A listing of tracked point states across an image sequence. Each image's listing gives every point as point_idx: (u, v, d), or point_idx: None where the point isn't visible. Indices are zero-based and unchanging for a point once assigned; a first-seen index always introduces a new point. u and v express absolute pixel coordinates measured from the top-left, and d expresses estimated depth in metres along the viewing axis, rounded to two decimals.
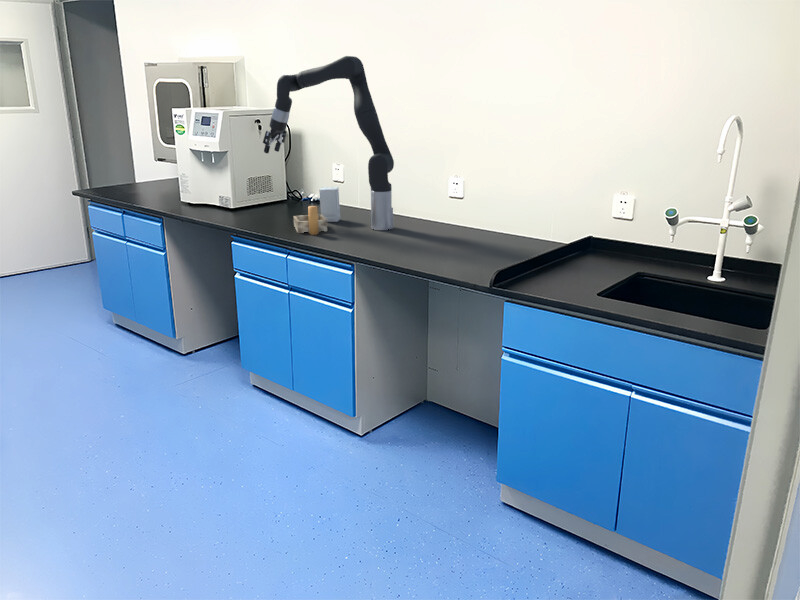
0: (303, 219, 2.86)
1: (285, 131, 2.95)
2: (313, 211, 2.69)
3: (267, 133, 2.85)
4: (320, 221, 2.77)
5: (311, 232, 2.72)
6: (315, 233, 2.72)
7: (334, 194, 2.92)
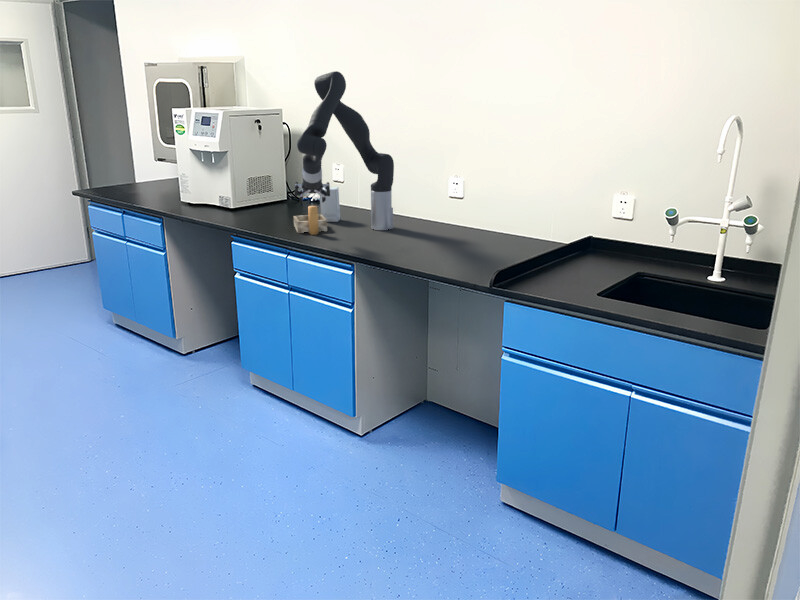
0: (303, 219, 2.86)
1: (297, 182, 2.51)
2: (313, 211, 2.69)
3: None
4: (320, 221, 2.77)
5: (311, 232, 2.72)
6: (315, 233, 2.72)
7: (334, 194, 2.92)
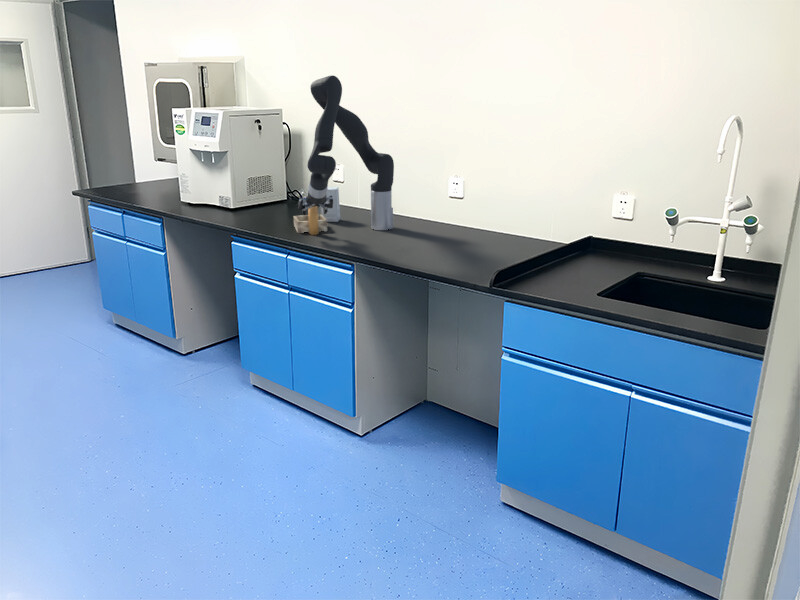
0: (303, 219, 2.86)
1: None
2: (313, 211, 2.69)
3: (332, 199, 2.61)
4: (320, 221, 2.77)
5: (311, 232, 2.72)
6: (315, 233, 2.72)
7: (334, 194, 2.92)
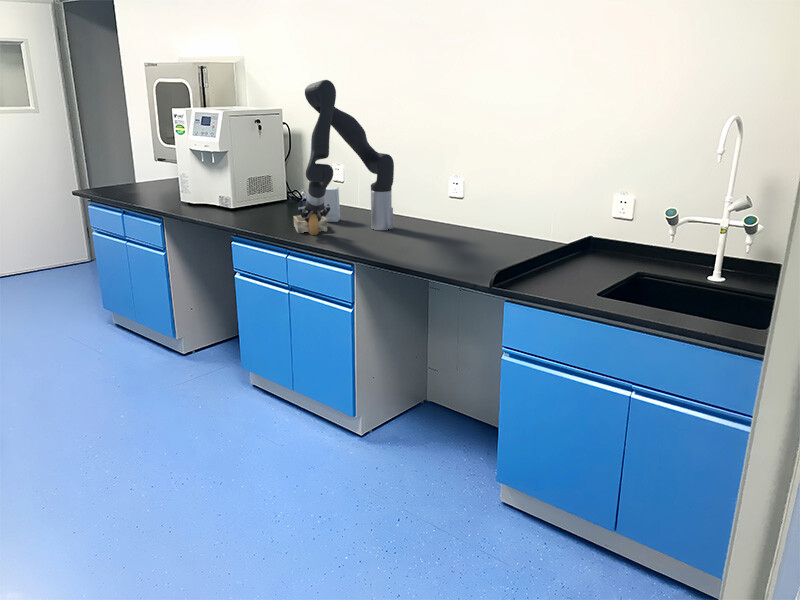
0: (303, 219, 2.86)
1: None
2: None
3: None
4: (320, 221, 2.77)
5: (311, 232, 2.72)
6: (315, 233, 2.72)
7: (334, 194, 2.92)
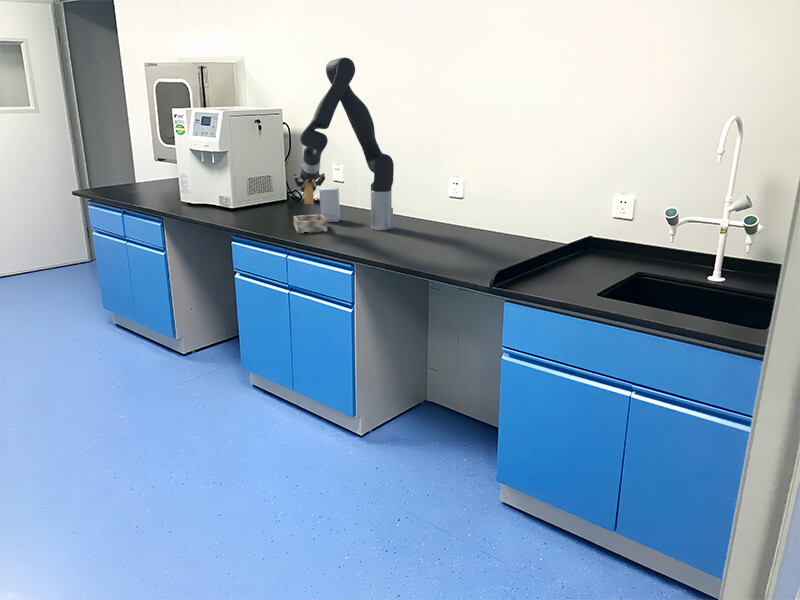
0: (303, 219, 2.86)
1: None
2: None
3: None
4: (320, 221, 2.77)
5: (306, 201, 2.77)
6: (310, 202, 2.77)
7: (334, 194, 2.92)
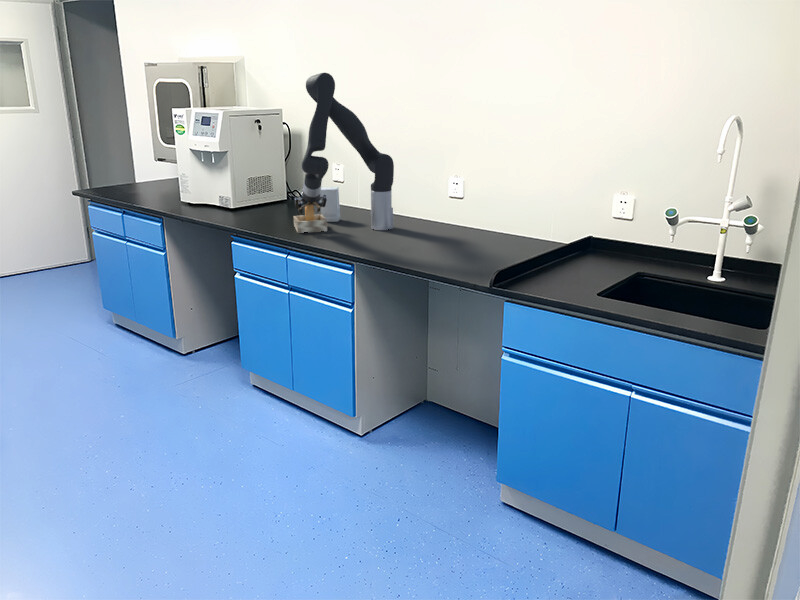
0: (303, 219, 2.86)
1: None
2: (309, 206, 2.78)
3: None
4: (320, 221, 2.77)
5: None
6: None
7: (334, 194, 2.92)
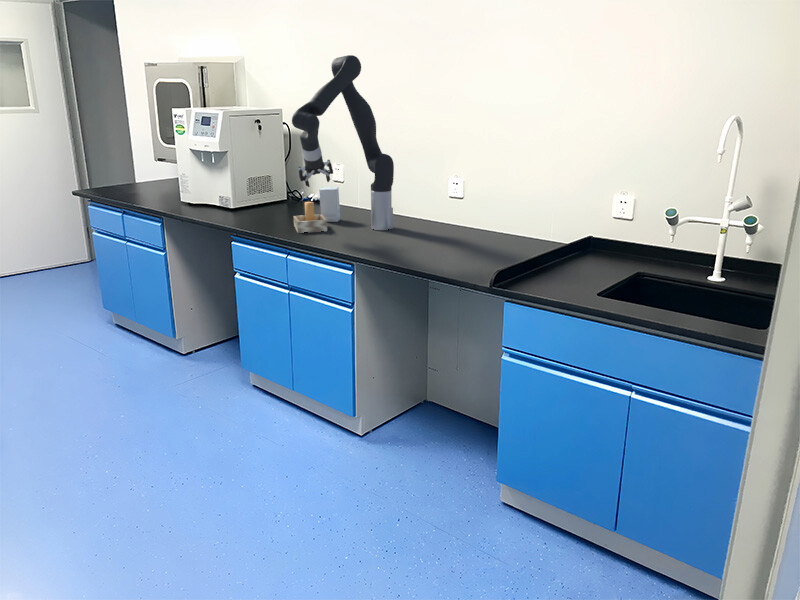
0: (303, 219, 2.86)
1: None
2: (309, 206, 2.78)
3: (330, 162, 2.63)
4: (320, 221, 2.77)
5: None
6: None
7: (334, 194, 2.92)
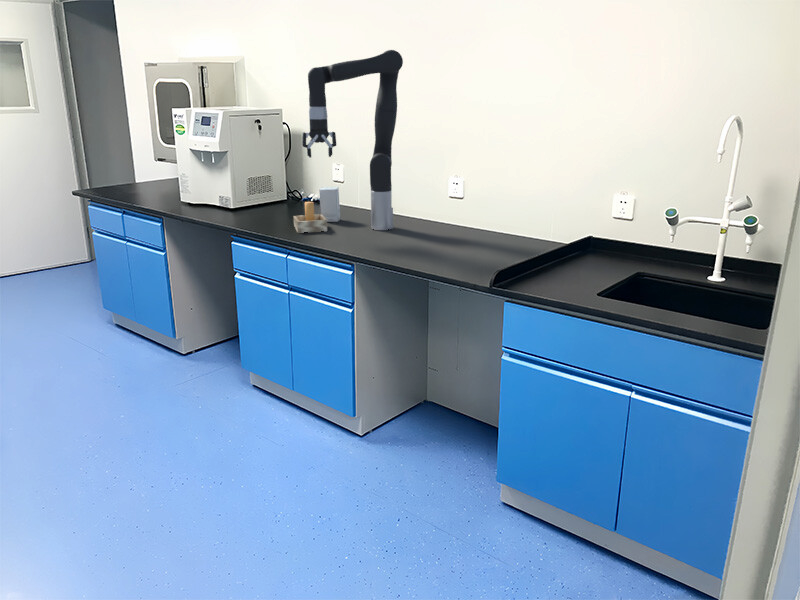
0: (303, 219, 2.86)
1: None
2: (309, 206, 2.78)
3: (334, 133, 2.69)
4: (320, 221, 2.77)
5: None
6: None
7: (334, 194, 2.92)
